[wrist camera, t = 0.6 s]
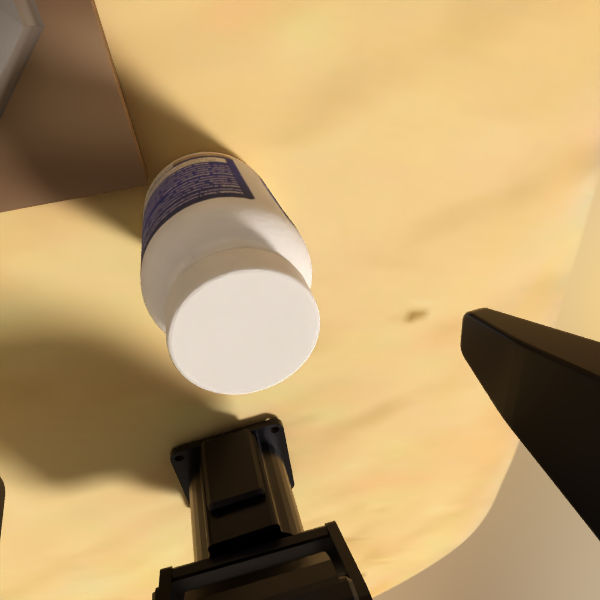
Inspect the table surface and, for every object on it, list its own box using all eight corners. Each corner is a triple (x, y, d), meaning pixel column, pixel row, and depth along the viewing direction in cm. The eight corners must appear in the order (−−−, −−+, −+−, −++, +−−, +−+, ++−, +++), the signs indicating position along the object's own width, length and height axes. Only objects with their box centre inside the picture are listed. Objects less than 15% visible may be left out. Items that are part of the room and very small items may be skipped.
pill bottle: (123, 242, 18) (100, 387, 11) (176, 123, 16) (192, 201, 9) (237, 286, 20) (282, 428, 13) (294, 188, 19) (380, 289, 12)
